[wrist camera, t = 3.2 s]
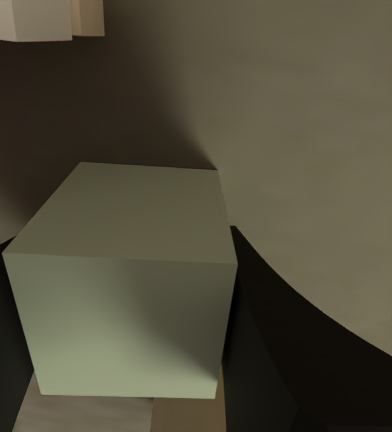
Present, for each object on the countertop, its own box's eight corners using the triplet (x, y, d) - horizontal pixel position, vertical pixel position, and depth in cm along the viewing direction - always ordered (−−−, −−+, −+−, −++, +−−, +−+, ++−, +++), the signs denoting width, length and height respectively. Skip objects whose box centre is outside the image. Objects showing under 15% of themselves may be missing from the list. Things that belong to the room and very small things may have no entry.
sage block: (92, 270, 13) (41, 394, 8) (80, 161, 10) (2, 252, 6) (206, 275, 13) (214, 398, 8) (217, 170, 11) (237, 263, 6)
